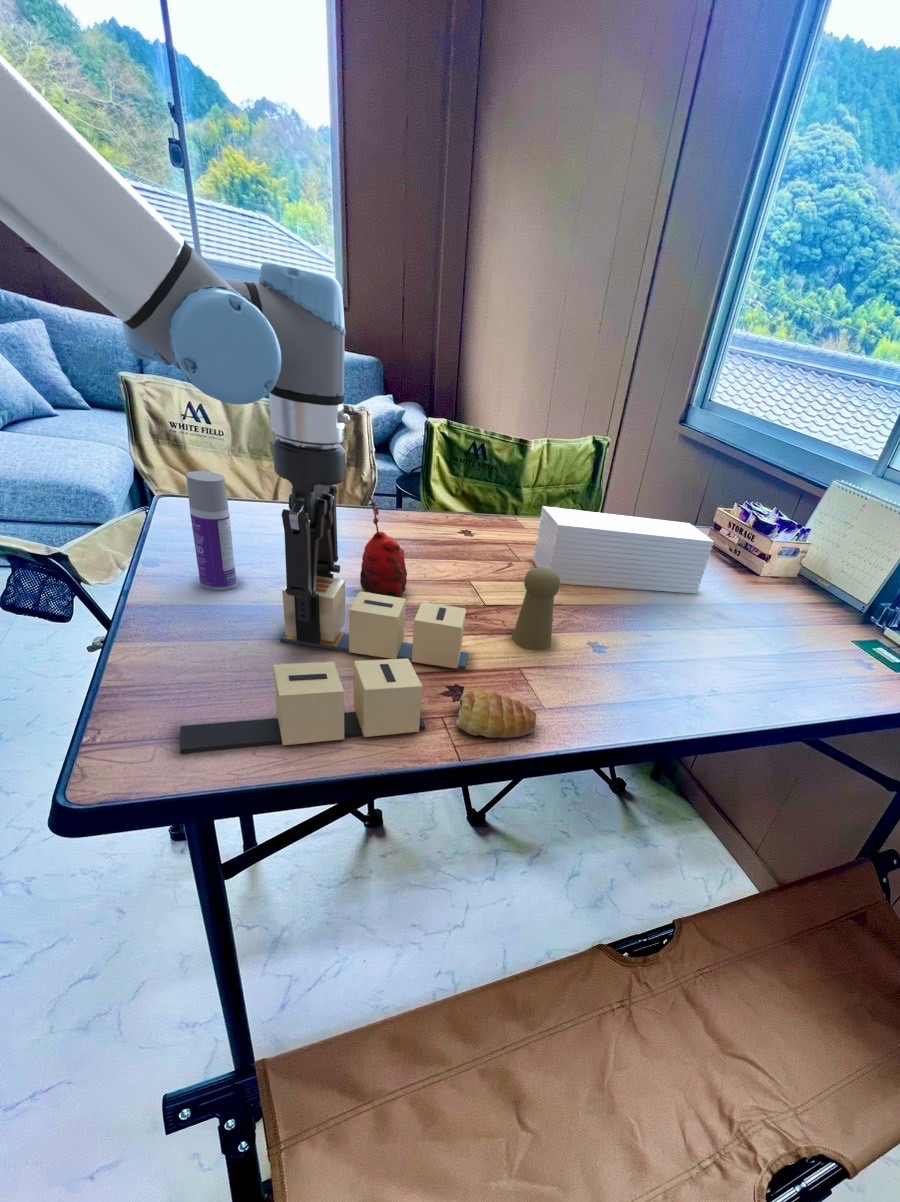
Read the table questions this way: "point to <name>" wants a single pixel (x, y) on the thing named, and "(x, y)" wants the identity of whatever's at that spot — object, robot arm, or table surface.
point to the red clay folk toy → (383, 564)
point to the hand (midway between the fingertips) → (316, 629)
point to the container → (211, 530)
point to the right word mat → (400, 631)
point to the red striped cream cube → (321, 608)
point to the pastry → (494, 715)
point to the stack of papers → (621, 550)
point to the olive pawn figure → (537, 609)
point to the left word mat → (323, 708)
